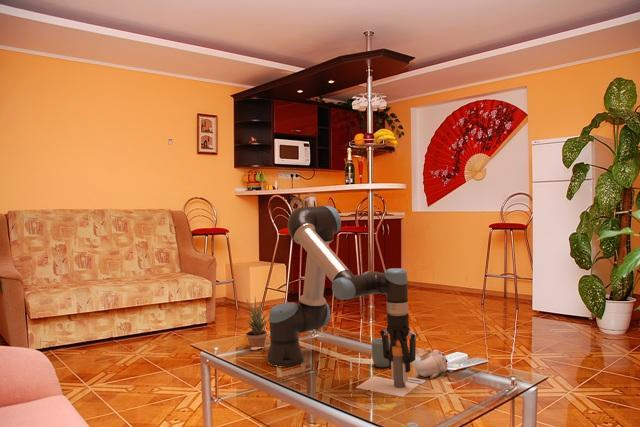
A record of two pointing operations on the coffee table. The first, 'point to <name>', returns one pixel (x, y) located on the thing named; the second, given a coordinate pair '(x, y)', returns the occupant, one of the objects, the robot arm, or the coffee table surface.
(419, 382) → the plate
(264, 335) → the potted plant
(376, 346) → the cup
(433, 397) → the coffee table surface
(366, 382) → the paper
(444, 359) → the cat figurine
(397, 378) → the marker
